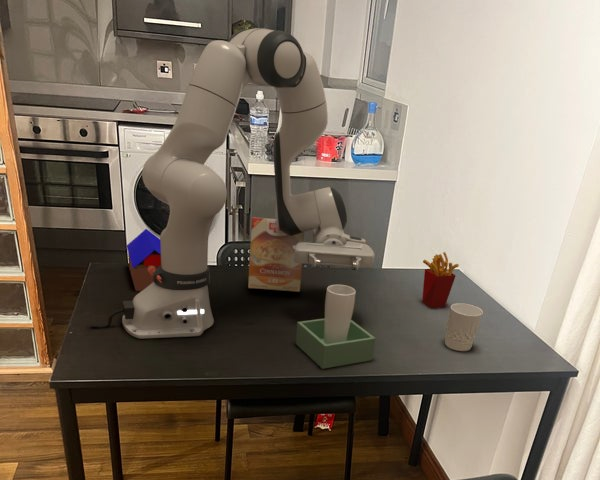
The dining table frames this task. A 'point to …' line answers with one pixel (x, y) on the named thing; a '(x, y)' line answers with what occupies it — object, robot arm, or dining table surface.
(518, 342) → the dining table surface
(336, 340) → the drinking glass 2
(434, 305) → the french fries
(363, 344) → the tote
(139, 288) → the house
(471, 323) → the white cup
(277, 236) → the coffeecake box
